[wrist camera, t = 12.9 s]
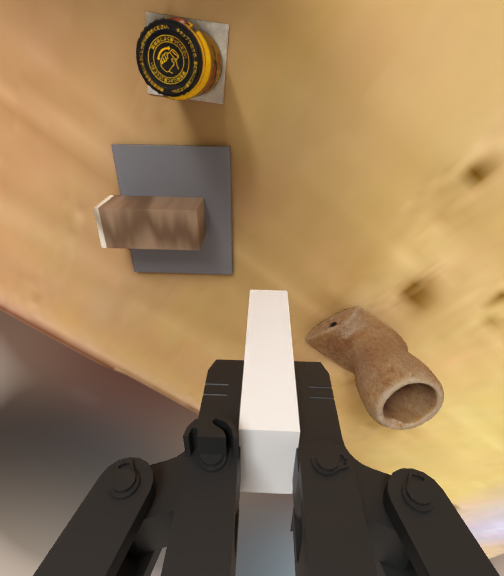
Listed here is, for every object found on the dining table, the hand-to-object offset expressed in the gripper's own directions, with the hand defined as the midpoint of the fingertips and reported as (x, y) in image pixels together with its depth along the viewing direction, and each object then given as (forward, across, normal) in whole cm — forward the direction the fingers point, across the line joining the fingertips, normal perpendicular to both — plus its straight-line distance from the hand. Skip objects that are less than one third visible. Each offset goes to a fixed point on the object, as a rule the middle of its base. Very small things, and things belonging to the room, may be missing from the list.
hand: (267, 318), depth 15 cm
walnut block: (+29, -20, -7) cm, 36 cm away
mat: (+32, -12, -7) cm, 35 cm away
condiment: (+33, -9, +10) cm, 35 cm away
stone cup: (+33, +16, -26) cm, 45 cm away
